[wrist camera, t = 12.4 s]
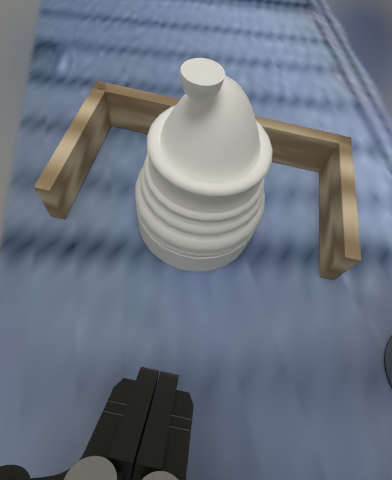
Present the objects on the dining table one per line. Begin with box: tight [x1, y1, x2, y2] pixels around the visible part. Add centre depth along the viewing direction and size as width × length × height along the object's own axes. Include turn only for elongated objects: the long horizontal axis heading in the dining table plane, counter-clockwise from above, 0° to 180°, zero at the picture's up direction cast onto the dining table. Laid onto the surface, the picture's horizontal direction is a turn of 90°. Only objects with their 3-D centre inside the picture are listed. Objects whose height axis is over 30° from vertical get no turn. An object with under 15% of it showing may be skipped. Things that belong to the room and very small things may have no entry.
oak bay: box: [34, 81, 361, 280], centre depth 34 cm, size 16×31×5 cm, turn 79°
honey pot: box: [135, 58, 272, 272], centre depth 26 cm, size 13×13×18 cm
